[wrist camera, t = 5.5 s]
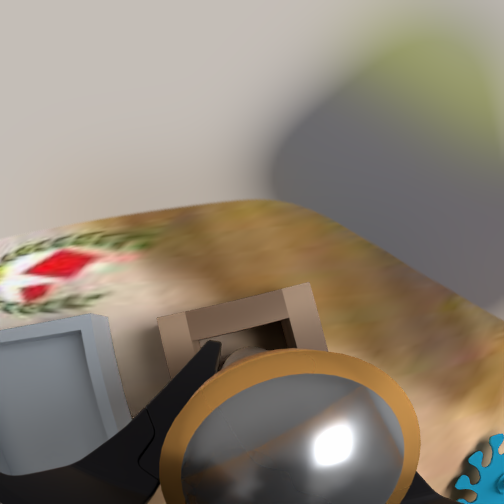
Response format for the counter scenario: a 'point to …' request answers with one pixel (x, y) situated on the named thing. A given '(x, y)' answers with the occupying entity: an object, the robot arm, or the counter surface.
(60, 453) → the tray
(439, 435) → the counter surface
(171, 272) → the counter surface
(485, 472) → the gear
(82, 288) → the counter surface
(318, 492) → the steel pin
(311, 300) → the collar block
